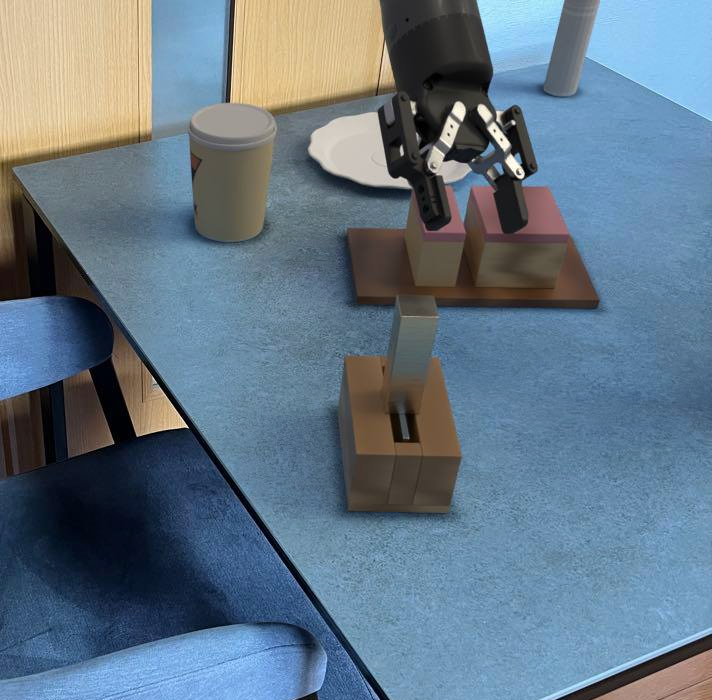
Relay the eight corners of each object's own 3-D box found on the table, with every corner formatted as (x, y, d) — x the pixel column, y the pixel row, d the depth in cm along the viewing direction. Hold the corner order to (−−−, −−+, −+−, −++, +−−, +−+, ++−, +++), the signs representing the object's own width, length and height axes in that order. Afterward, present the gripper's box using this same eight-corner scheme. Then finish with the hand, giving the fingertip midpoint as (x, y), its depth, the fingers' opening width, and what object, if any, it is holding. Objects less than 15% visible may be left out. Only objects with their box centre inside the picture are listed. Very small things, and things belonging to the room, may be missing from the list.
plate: (481, 206, 118) (484, 192, 117) (300, 193, 121) (301, 179, 120) (476, 129, 133) (479, 116, 132) (314, 119, 136) (315, 107, 135)
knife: (402, 417, 90) (428, 274, 80) (414, 486, 83) (445, 340, 73) (370, 416, 90) (392, 273, 80) (379, 486, 83) (405, 339, 73)
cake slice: (441, 237, 111) (451, 185, 107) (454, 287, 104) (466, 232, 100) (404, 237, 112) (412, 184, 107) (415, 286, 105) (424, 232, 100)
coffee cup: (201, 201, 120) (202, 97, 112) (279, 212, 118) (286, 106, 110) (177, 239, 114) (176, 132, 105) (259, 251, 112) (264, 143, 103)
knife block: (427, 413, 92) (439, 356, 87) (448, 513, 82) (462, 456, 78) (337, 411, 92) (344, 355, 88) (347, 511, 83) (356, 453, 78)
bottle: (582, 92, 141) (626, -72, 127) (558, 99, 139) (600, -67, 125) (559, 82, 144) (600, -81, 129) (536, 88, 142) (574, -76, 128)
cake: (566, 238, 113) (583, 177, 108) (597, 308, 103) (617, 245, 98) (346, 236, 114) (353, 175, 109) (356, 304, 104) (364, 241, 99)
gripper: (399, -3, 77) (447, 204, 75) (530, 21, 84) (577, 210, 82) (337, 56, 83) (380, 247, 82) (464, 73, 90) (506, 249, 89)
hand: (479, 228), depth 82 cm, fingers open, 8 cm apart
